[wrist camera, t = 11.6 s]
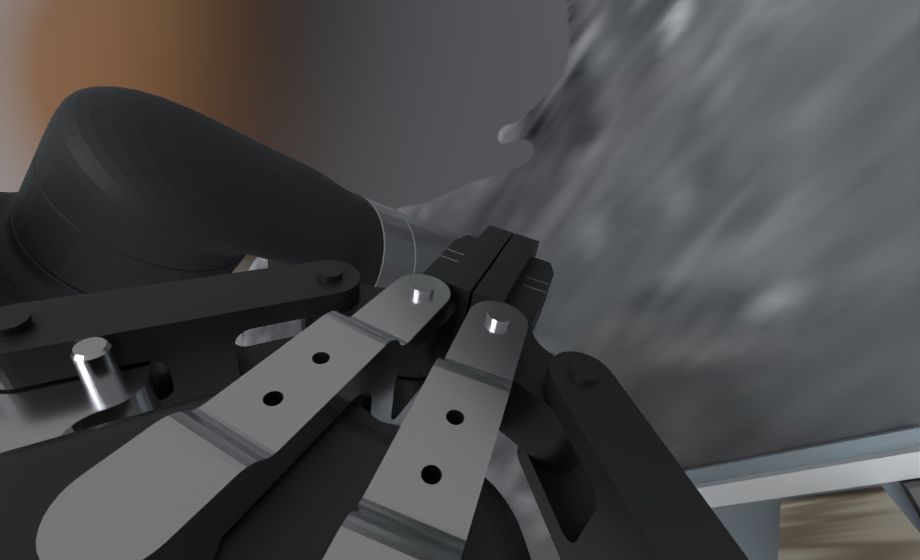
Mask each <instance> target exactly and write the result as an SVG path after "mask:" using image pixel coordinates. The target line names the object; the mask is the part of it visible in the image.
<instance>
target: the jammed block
mask: <svg viewBox="0 0 920 560" xmlns="http://www.w3.org/2000/svg"><path fill="white" fill-rule="evenodd" d="M778 560H920V533H919V531H918V530H917V529H916V528H915V526H914V525H913V524H912V523H911V522H910V520H909V519H908V518H907V517H906V515H905V514H904V513H903V512H902V511H901V509H900V508H899V507H898V506H897V504H896V503H895V502H894V501H893V499H892V498H891V497H890V496H889V495H888V493H887V492H886V491H885V490H884V488H883V487H882V486H880V487H873V488H866V489H859V490H852V491H845V492H837V493H830V494H823V495H816V496H809V497H802V498H795V499H788V500H781V504H780V525H779V546H778Z"/></svg>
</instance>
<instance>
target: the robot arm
mask: <svg viewBox="0 0 920 560" xmlns="http://www.w3.org/2000/svg"><path fill="white" fill-rule="evenodd" d="M538 244H539V241H536V240H533V239H530V238H527V237H524V236H521V235H518V234H513V233H512V232H509V231H506V230H502V229H499V228H496V227H493V226H488V228H487V229H486V230H485V231H484V232H483V233H482V235H481V236H480V237H479V238H475V237H472V236H469V235H467V236H464V237H460V236H458V235H456V234H453V233H451V232H448V231H446V230H443V229H441V228H438V227H436V226H433V225H431V224H429V223H426V222H424V221H421V220H419V219H416V218H414V217H411V216H409V215H407V214H404V213H402V212H399V211H397V210H394V209H391V208H389V207H386V206H384V205H381V204H379V203H377V202H374V201H372V200H369V199H367V198H364V197H361V196H360V195H357V194H354V193H352V192H350V191H348V190H346V189H345V188H343V187H341V186H340V185H339V184H337V183H335V182H334V181H333V180H331V179H329V178H328V177H326V176H325V175H323V174H322V173H320V172H318V171H317V170H315V169H313V168H311V167H309V166H307V165H305V164H303V163H301V162H299V161H297V160H295V159H293V158H291V157H288V156H286V155H284V154H282V153H280V152H278V151H276V150H273V149H272V148H270V147H268V146H265V145H263V144H261V143H259V142H257V141H255V140H253V139H251V138H249V137H247V136H245V135H243V134H241V133H239V132H237V131H235V130H233V129H231V128H229V127H227V126H225V125H223V124H221V123H220V122H217V121H215V120H214V119H211V118H209V117H207V116H205V115H203V114H201V113H198V112H196V111H194V110H192V109H190V108H188V107H185V106H183V105H180V104H178V103H175V102H173V101H170V100H168V99H165V98H162V97H159V96H155V95H152V94H149V93H145V92H142V91H138V90H133V89H127V88H121V87H108V86H107V87H105V86H102V87H101V86H99V87H90V88H85V89H81V90H79V91H76V92H74V93H73V94H71V95H69V96H68V97H67V98H65V99H64V100H63V102H62V103H61V104H60V106H59V107H58V108H57V110H56V111H55V113H54V115H53V117H52V118H51V120H50V122H49V124H48V126H47V128H46V130H45V132H44V135H43V137H42V139H41V141H40V143H39V146H38V148H37V151H36V153H35V155H34V157H33V160H32V162H31V164H30V167H29V169H28V171H27V173H26V176H25V178H24V180H23V183H22V185H21V187H20V190H19V192H15V193H14V192H11V193H8V192H0V560H531V558H530V555H529V552H528V549H527V546H526V543H525V540H524V537H523V534H522V532H521V529H520V526H519V524H518V522H517V520H516V518H515V516H514V514H513V512H512V510H511V508H510V507H509V505H508V504H507V502H506V501H505V499H504V498H503V497H502V495H501V494H500V493H499V492H498V490H497V489H496V488H495V487H494V486H493V485H492V484H491V483H490V482H489V481H488V480H487V479H486V478H485V475H486V472H487V468H488V465H489V461H490V458H491V455H492V451H493V448H494V444H495V441H496V438H497V434H498V431H499V430H500V431H501V432H502V433H504V434H505V435H506V436H507V437H508V438H510V439H511V440H512V441H513V442H514V443H516V444H517V445H518V449H517V454H518V459H519V462H520V464H521V467H522V469H523V471H524V474H525V476H526V478H527V481H528V483H529V485H530V488H531V490H532V493H533V495H534V497H535V500H536V502H537V504H538V507H539V509H540V511H541V514H542V516H543V519H544V521H545V523H546V526H547V528H548V530H549V533H550V535H551V537H552V540H553V542H554V545H555V547H556V549H557V552H558V554H559V556H560V559H561V560H749V559H748V558H747V556H746V555H745V554H744V552H743V551H742V549H741V548H740V547H739V545H738V544H737V543H736V541H735V540H734V539H733V537H732V536H731V534H730V533H729V532H728V530H727V529H726V528H725V526H724V525H723V524H722V522H721V521H720V519H719V518H718V517H717V515H716V514H715V513H714V511H713V510H712V509H711V507H710V506H709V505H708V503H707V502H706V500H705V499H704V498H703V496H702V495H701V494H700V492H699V491H698V490H697V488H696V487H695V485H694V484H693V483H692V481H691V480H690V479H689V477H688V476H687V475H686V473H685V472H684V470H683V469H682V468H681V466H680V465H679V464H678V462H677V461H676V460H675V458H674V457H673V455H672V454H671V453H670V451H669V450H668V449H667V447H666V446H665V445H664V443H663V442H662V440H661V439H660V438H659V436H658V435H657V434H656V432H655V431H654V430H653V428H652V427H651V425H650V424H649V423H648V421H647V420H646V419H645V417H644V416H643V415H642V413H641V412H640V411H639V409H638V408H637V406H636V405H635V404H634V402H633V401H632V400H631V398H630V397H629V396H628V394H627V393H626V391H625V390H624V389H623V387H622V386H621V385H620V383H619V382H618V381H617V379H616V378H615V376H614V375H613V374H612V372H611V371H610V370H609V369H608V368H607V367H606V366H605V365H604V364H603V363H601V362H600V361H599V360H597V359H595V358H593V357H591V356H589V355H586V354H583V353H579V352H562V353H559V354H557V355H555V356H554V355H552V354H551V353H549V352H548V351H547V350H545V349H544V348H543V347H542V346H541V345H540V344H539V343H538V342H537V341H536V339H535V337H534V335H533V330H534V328H535V326H536V323H537V321H538V319H539V316H540V313H541V310H542V307H543V304H544V301H545V299H546V296H547V293H548V290H549V287H550V284H551V281H552V278H553V275H554V273H553V270H552V266H551V263H549V262H546V261H543V260H540V259H537V258H535V255H536V252H537V249H538ZM245 255H252V256H257V257H261V258H265V259H268V268H266V269H258V270H251V271H244V272H238V273H232V272H233V270H234V269H235V268H236V267H237V266H238V264H239V263H240V262H241V260H242V259H243V258H244V257H245ZM296 319H301V329H302V332H301V333H299V334H298V335H297V336H294V337H289V338H284V339H280V340H275V341H271V342H266V343H261V344H257V345H252V346H247V347H243V346H238V345H236V344H235V341H236V339H237V337H238V336H239V335H240V334H241V333H242V332H244V331H246V330H248V329H252V328H257V327H262V326H267V325H272V324H277V323H282V322H287V321H291V320H296ZM402 422H403V423H402ZM401 423H402V425H401ZM400 425H401V426H400Z"/></svg>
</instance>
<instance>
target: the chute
mask: <svg viewBox="0 0 920 560" xmlns="http://www.w3.org/2000/svg"><path fill="white" fill-rule="evenodd" d="M684 472H685V473H686V475H687V476H688V477H689V479H690V480H691V481H692V483H693V484H694V485H695V487H696V488H697V490H698V491H699V492H700V494H701V495H702V496H703V498H704V499H705V500H706V502H707V503H708V505H709V506H710V507H711V509H712V510H713V511H714V513H715V514H716V515H717V517H718V518H719V519H720V521H721V522H722V524H723V525H724V526H725V528H726V529H727V530H728V532H729V533H730V534H731V536H732V537H733V539H734V540H735V541H736V543H737V544H738V545H739V547H740V548H741V549H742V551H743V552H744V554H745V555H746V556H747V558H748V559H749V560H778V546H779V525H780V504H781V500H788V499H795V498H802V497H809V496H816V495H823V494H830V493H837V492H845V491H852V490H859V489H866V488H873V487H880V486H882V487H883V488H884V490H885V491H886V492H887V493H888V495H889V496H890V497H891V498H892V499H893V501H894V502H895V503H896V504H897V506H898V507H899V508H900V509H901V511H902V512H903V513H904V514H905V515H906V517H907V518H908V519H909V520H910V522H911V523H912V524H913V525H914V526H915V528H916V529H917V530H918V531H919V533H920V426H919V425H917V426H912V427H907V428H901V429H896V430H891V431H886V432H880V433H875V434H870V435H864V436H859V437H854V438H848V439H843V440H838V441H833V442H827V443H822V444H817V445H811V446H806V447H801V448H796V449H790V450H785V451H780V452H774V453H769V454H764V455H759V456H753V457H748V458H743V459H737V460H732V461H727V462H722V463H716V464H711V465H706V466H700V467H695V468H690V469H685V470H684Z"/></svg>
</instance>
